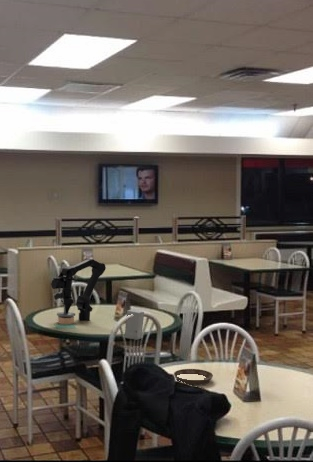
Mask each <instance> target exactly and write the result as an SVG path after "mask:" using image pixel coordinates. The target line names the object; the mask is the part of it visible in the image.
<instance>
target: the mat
mask: <svg viewBox="0 0 313 462" xmlns="http://www.w3.org/2000/svg"><path fill="white" fill-rule="evenodd" d="M53 325H54V327H55V329H57V330H58V329H59V330H63V329H67V330H69V329H77V326H76V325H75V324H74V323H71V324H61V323H58V324H53Z"/></svg>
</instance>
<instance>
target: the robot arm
mask: <svg viewBox="0 0 313 462" xmlns="http://www.w3.org/2000/svg"><path fill="white" fill-rule="evenodd" d="M88 267H89V268H91V275H90V278H89V280H88V282H87V285H86V286H85V289H84V291H83V293H82V295H78V297H77V299H76V301H74V299H73V296H72V292H73V289H72V288H73V281H76V279H75V278H74V276H75V275H77V273H78V272H80V271H82V270H84V269H87V268H88ZM106 269H107V268H106V265H105V263H104V262H100V261H97V260H95V259H94V258H86V259H85V260H83V261H81V262H78V263H76V264H74V265H71V266H64V267H63V268H62V269H61V272H60V273H59V275H58V277H53V278H52V279H53V280H51V283H50V286H51V288H52V289H53V290H58V289H61V290H60V291H59V292H55V293H53V294H52V296H53V299H54V300H55V301H57V300H58V299H59V300H60V302H61V303H62V304H63V307H64V306H65V312H66V313H68V311H69V312H70V309H71V306H72V305H73V304H75V305H76V307H77V311H79V312H78V320H79V321H80V322H84V321H85V322H88V321H90V322H91V320H90V319H91V312H92V311H93V309H94V308H93V307H92V306H91V304H90V303H91V296H92V294H93V291H94V289H95V287H96V285H97V282H98V281H99V278H100V277H101V276H102V275H103V274H104V272H105V271H106Z"/></svg>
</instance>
